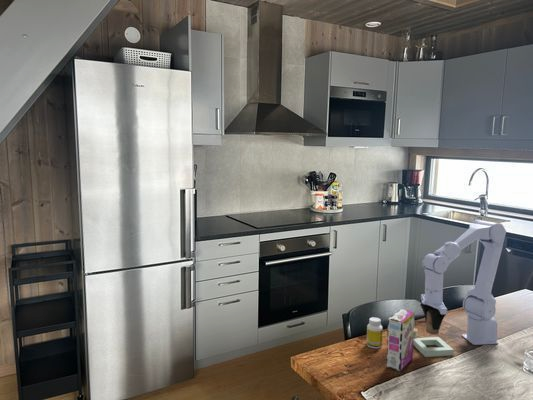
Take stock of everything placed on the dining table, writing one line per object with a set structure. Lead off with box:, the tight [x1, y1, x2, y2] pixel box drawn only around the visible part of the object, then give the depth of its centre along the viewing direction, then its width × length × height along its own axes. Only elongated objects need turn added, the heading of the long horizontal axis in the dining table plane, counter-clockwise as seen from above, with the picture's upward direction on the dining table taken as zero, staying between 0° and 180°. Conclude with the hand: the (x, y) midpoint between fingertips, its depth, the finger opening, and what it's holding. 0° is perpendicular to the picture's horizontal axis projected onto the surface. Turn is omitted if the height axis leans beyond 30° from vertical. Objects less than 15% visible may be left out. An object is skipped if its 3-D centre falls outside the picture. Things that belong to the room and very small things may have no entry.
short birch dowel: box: [413, 328, 419, 338], centre depth 149 cm, size 4×4×4 cm
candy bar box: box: [386, 308, 415, 372], centre depth 132 cm, size 11×5×16 cm, turn 141°
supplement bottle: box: [366, 316, 383, 350], centre depth 145 cm, size 5×5×10 cm
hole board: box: [413, 336, 455, 358], centre depth 142 cm, size 10×10×2 cm
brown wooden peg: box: [425, 311, 440, 336], centre depth 141 cm, size 4×4×7 cm
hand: (432, 326), depth 141 cm, fingers closed on brown wooden peg, 4 cm apart
